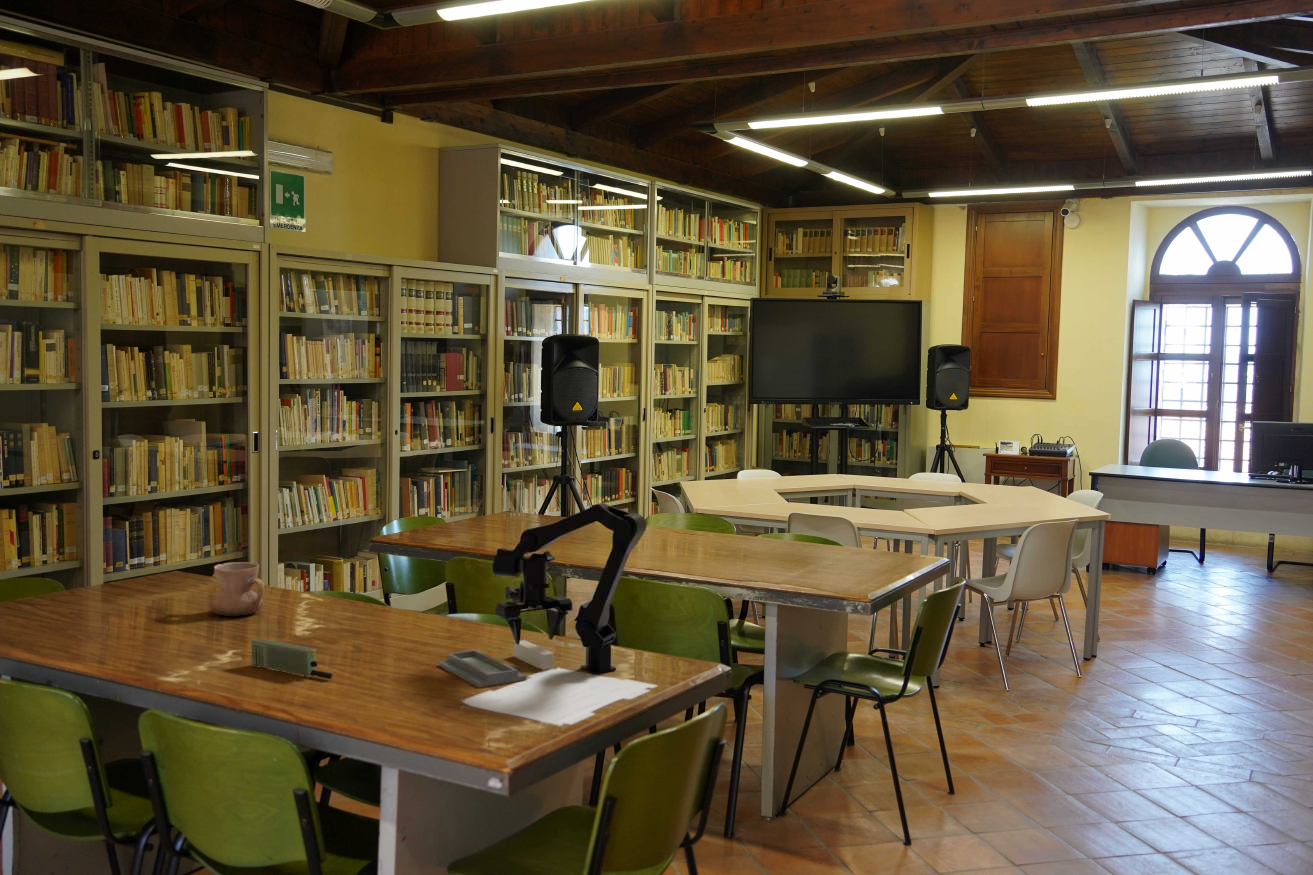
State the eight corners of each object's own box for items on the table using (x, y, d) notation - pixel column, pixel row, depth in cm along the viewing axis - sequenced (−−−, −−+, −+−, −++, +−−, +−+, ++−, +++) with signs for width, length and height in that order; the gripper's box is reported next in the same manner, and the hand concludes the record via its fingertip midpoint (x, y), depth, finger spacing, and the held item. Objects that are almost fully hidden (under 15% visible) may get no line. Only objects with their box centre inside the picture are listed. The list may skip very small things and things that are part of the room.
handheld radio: (261, 664, 255) (336, 679, 243) (249, 667, 252) (325, 683, 240) (260, 636, 254) (335, 651, 242) (248, 640, 251) (324, 654, 239)
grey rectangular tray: (526, 679, 245) (526, 668, 245) (479, 687, 238) (479, 676, 238) (483, 658, 263) (483, 648, 263) (438, 665, 256) (438, 654, 256)
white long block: (553, 669, 256) (554, 652, 255) (542, 671, 254) (543, 654, 254) (524, 655, 268) (524, 640, 268) (513, 657, 266) (514, 641, 266)
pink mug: (194, 615, 305) (195, 566, 304) (233, 605, 318) (233, 558, 317) (242, 623, 297) (243, 573, 296) (279, 613, 311) (280, 565, 310)
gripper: (551, 570, 272) (550, 630, 272) (485, 576, 261) (484, 639, 262) (574, 577, 263) (573, 639, 263) (506, 584, 252) (505, 649, 253)
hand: (534, 641), depth 260 cm, fingers open, 9 cm apart
